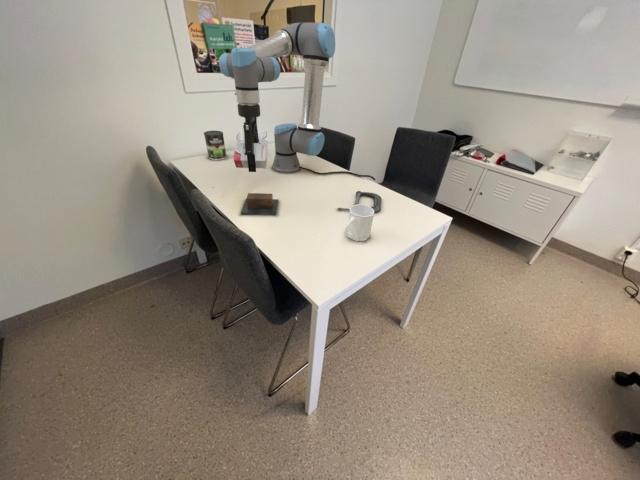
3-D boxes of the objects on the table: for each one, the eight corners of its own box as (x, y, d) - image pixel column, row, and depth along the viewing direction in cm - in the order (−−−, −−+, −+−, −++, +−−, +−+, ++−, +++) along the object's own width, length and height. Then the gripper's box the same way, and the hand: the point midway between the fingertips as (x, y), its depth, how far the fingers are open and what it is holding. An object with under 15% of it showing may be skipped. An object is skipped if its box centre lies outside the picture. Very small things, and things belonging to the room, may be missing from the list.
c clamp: (378, 218, 109) (379, 212, 107) (337, 210, 113) (338, 204, 111) (384, 198, 124) (385, 192, 123) (348, 191, 128) (349, 186, 127)
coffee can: (228, 159, 155) (224, 134, 147) (210, 161, 151) (205, 135, 143) (225, 153, 162) (221, 129, 154) (207, 155, 158) (202, 131, 150)
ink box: (236, 168, 101) (267, 169, 102) (233, 160, 96) (265, 161, 97) (238, 150, 104) (268, 151, 105) (235, 141, 100) (266, 142, 100)
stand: (278, 201, 116) (277, 189, 113) (276, 215, 107) (275, 203, 103) (246, 200, 115) (244, 189, 112) (241, 214, 105) (239, 202, 102)
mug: (335, 237, 96) (338, 212, 90) (356, 226, 103) (360, 202, 97) (353, 248, 91) (357, 222, 85) (374, 236, 98) (379, 211, 92)
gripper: (243, 98, 99) (249, 157, 112) (230, 108, 81) (239, 177, 94) (263, 99, 99) (267, 157, 112) (254, 110, 81) (260, 178, 95)
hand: (254, 166), depth 103 cm, fingers closed on ink box, 9 cm apart
